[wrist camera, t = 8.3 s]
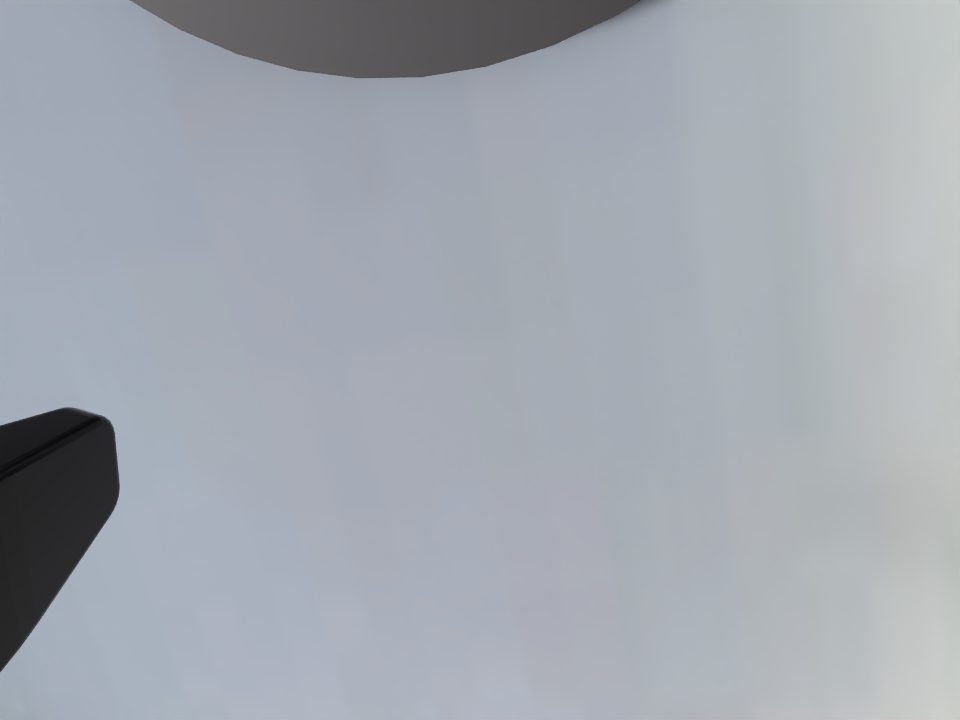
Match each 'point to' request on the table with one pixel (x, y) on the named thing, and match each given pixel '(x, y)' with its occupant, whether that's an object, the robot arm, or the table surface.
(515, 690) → the table surface
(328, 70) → the cap base
